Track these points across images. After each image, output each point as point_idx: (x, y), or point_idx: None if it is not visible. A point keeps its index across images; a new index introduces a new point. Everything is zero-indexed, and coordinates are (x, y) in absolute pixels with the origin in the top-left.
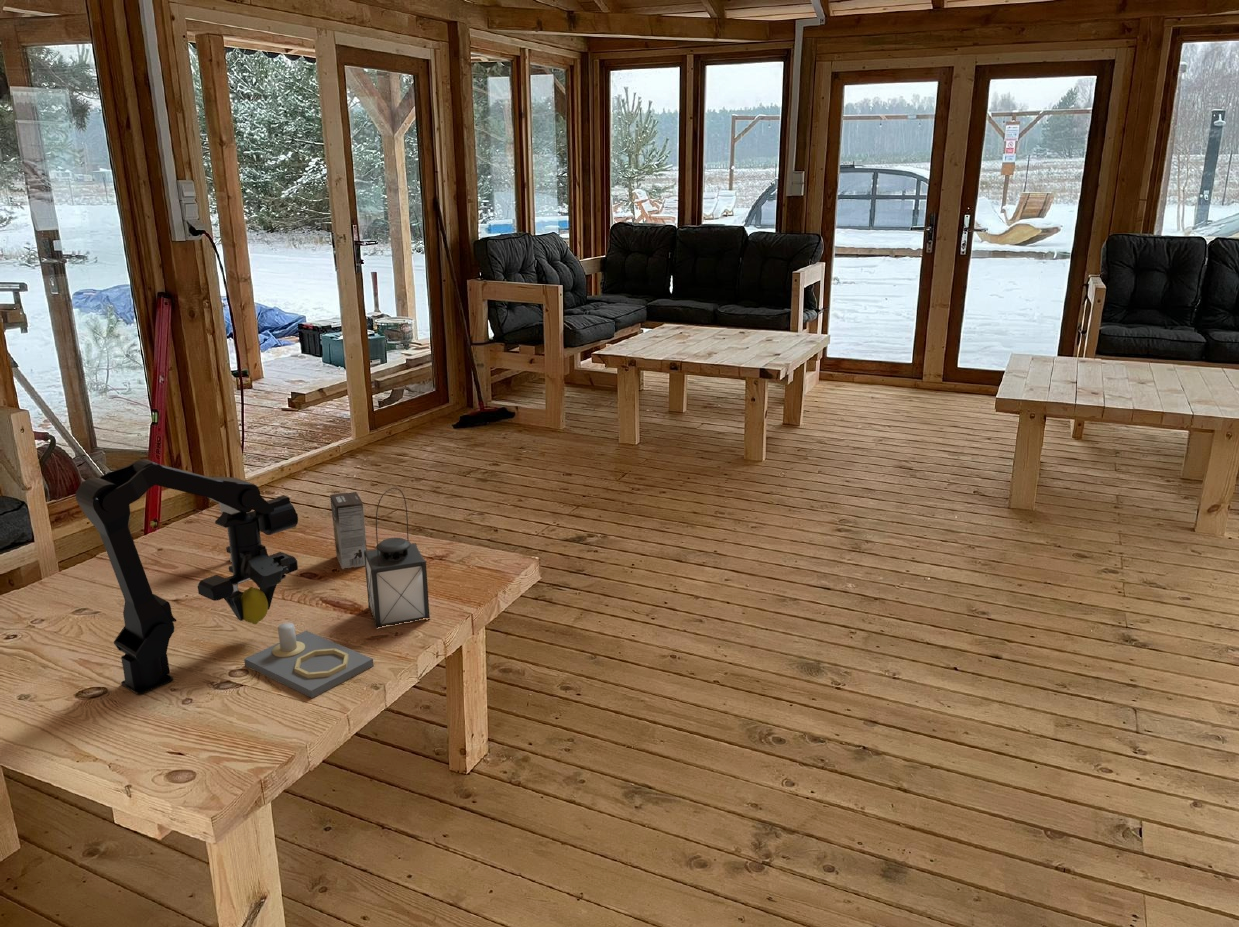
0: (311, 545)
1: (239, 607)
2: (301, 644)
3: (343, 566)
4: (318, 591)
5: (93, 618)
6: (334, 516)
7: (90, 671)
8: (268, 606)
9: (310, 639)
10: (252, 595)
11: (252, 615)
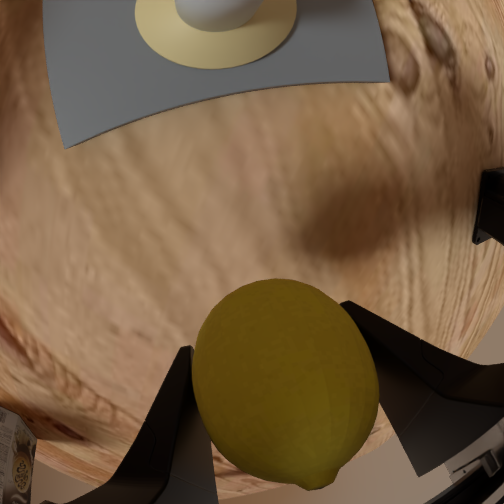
0: (76, 464)
1: (410, 345)
2: (148, 2)
3: (15, 418)
4: (42, 390)
5: (379, 420)
6: (17, 499)
7: (481, 298)
8: (185, 359)
9: (87, 44)
10: (342, 429)
11: (322, 295)
